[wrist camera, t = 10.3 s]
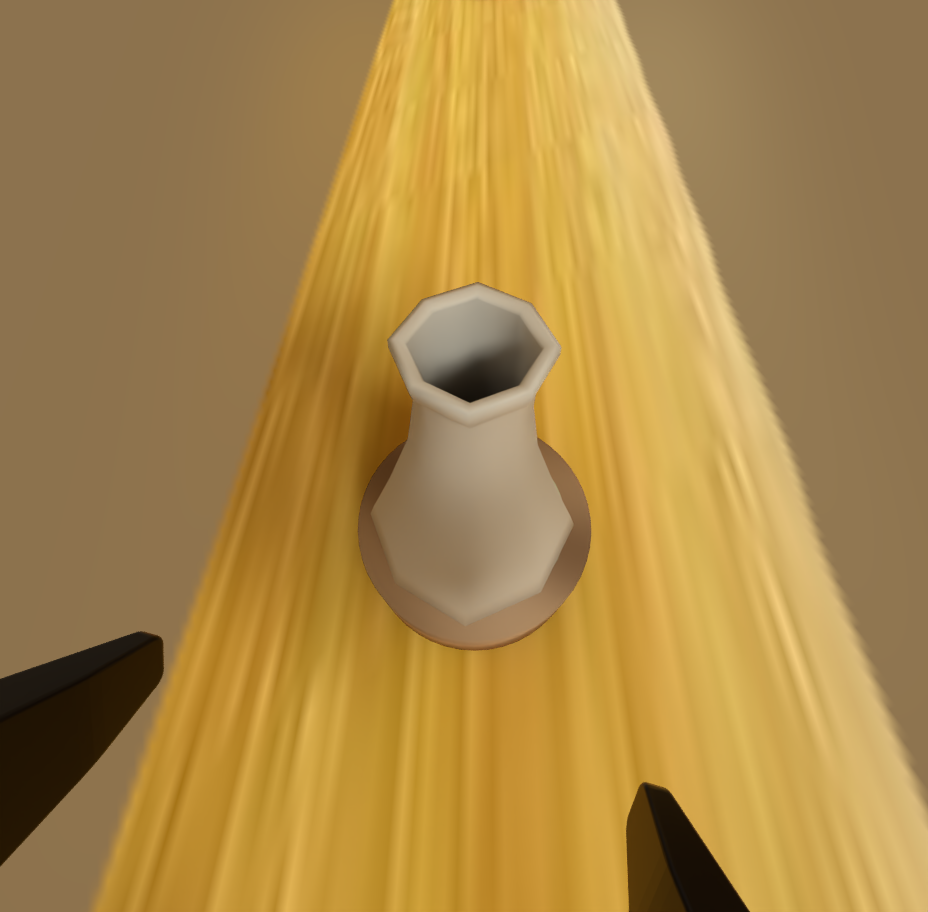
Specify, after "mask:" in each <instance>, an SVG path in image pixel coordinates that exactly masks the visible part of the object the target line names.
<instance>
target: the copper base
mask: <svg viewBox="0 0 928 912" xmlns="http://www.w3.org/2000/svg"><path fill="white" fill-rule="evenodd" d="M406 442H407V440H406V441H405V442H403V443H402V444H401V445H399V446H398V447H397V448H396V449H395V450H394V451H393V452H391V453H390V454H389V455H388V456H387V458H386V459H385V460H384V461H383V462H382V463H381V465H380V466H379V467H378V469H377V470H376V472H375V473H374V475H373V476H372V478H371V480H370V482H369V484H368V486H367V488H366V491H365V494H364V497H363V500H362V503H361V508H360V513H359V522H358V537H359V547H360V551H361V556H362V560H363V563H364V565H365V568H366V570H367V573H368V575H369V577H370V579H371V581H372V582H373V584H374V586H375V588H376V589H377V591H378V592H379V593H380V595H381V596H382V597H383V598H384V600H385V601H386V602H387V604H388V605H389V606H390V607H391V609H392V610H393V611H394V613H395V614H396V615H397V616H398V617H399V618H400V619H401V620H402V621H403V622H404V623H405V624H406V625H407V626H408V627H410V628H411V629H412V630H414V631H415V632H416V633H418V634H419V635H421V636H423V637H425V638H427V639H428V640H430V641H432V642H435V643H438V644H440V645H443V646H446V647H451V648H455V649H461V650H489V649H494V648H498V647H503V646H506V645H509V644H511V643H514V642H517V641H519V640H521V639H523V638H524V637H526V636H528V635H530V634H531V633H533V632H534V631H535V630H537V629H538V628H540V627H541V626H542V625H543V624H544V623H545V622H546V621H547V620H548V619H549V618H550V617H551V616H552V615H553V614H554V613H555V612H556V610H557V609H558V608H559V607H560V606H561V605H562V603H563V602H564V601H565V600H566V598H567V597H568V596H569V595H570V593H571V592H572V591H573V589H574V588H575V586H576V584H577V582H578V580H579V579H580V577H581V575H582V572H583V570H584V567H585V564H586V562H587V558H588V553H589V549H590V541H591V520H590V513H589V508H588V503H587V500H586V497H585V495H584V492H583V489H582V487H581V485H580V483H579V481H578V479H577V477H576V476H575V474H574V473H573V471H572V470H571V468H570V467H569V465H568V464H567V463H566V462H565V461H564V460H563V458H562V457H561V456H560V455H559V454H558V453H557V452H556V451H555V450H553V449H552V448H551V447H550V446H549V445H547V444H546V443H545V442H543V441H542V440H540V439H539V438H537V443H538V447H539V449H540V451H541V454H542V456H543V459H544V461H545V463H546V466H547V468H548V470H549V473H550V475H551V478H552V480H553V482H554V485H555V487H556V489H557V491H558V493H559V495H560V497H561V499H562V501H563V503H564V505H565V507H566V508H567V510H568V512H569V514H570V516H571V519H572V521H573V524H574V526H573V528H572V530H571V532H570V534H569V536H568V538H567V540H566V542H565V544H564V546H563V548H562V550H561V552H560V554H559V556H558V558H557V560H556V563H555V565H554V567H553V569H552V571H551V573H550V575H549V577H548V579H547V581H546V583H545V585H544V587H543V589H542V591H541V593H538V594H536V595H534V596H532V597H530V598H527V599H525V600H523V601H521V602H518V603H516V604H514V605H512V606H509V607H507V608H505V609H503V610H501V611H498V612H496V613H494V614H492V615H489V616H487V617H485V618H483V619H481V620H478V621H476V622H474V623H472V624H469V625H467V626H464V625H462V624H461V623H459V622H457V621H456V620H454V619H452V618H451V617H449V616H447V615H446V614H444V613H443V612H441V611H439V610H438V609H436V608H434V607H433V606H431V605H429V604H428V603H426V602H424V601H423V600H421V599H420V598H418V597H416V596H415V595H413V594H411V593H410V592H408V591H406V590H405V589H403V588H401V587H400V586H398V585H397V584H395V582H394V579H393V576H392V573H391V570H390V568H389V565H388V562H387V559H386V556H385V553H384V551H383V548H382V545H381V542H380V539H379V536H378V534H377V531H376V528H375V525H374V522H373V519H372V516H371V512H372V509H373V507H374V505H375V503H376V501H377V500H378V498H379V496H380V494H381V493H382V491H383V489H384V487H385V486H386V484H387V482H388V480H389V478H390V476H391V474H392V472H393V470H394V468H395V465H396V463H397V461H398V459H399V457H400V455H401V452H402V450H403V448H404V446H405V444H406Z"/></svg>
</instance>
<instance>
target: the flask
mask: <svg viewBox="0 0 928 912" xmlns="http://www.w3.org/2000/svg"><path fill="white" fill-rule="evenodd" d="M387 341H388V348H389V350H390V352H391V354H392V357H393V359H394V361H395V363H396V365H397V368H398V370H399V372H400V374H401V376H402V379H403V381H404V383H405V385H406V387H407V390H408V392H409V394H410V396H411V398H412V399H413V404H412V412H411V419H410V427H409V434H408V439H407V442H406V444H405V446H404V448H403V450H402V452H401V455H400V457H399V459H398V461H397V463H396V465H395V468H394V470H393V472H392V474H391V476H390V478H389V480H388V482H387V484H386V486H385V487H384V489H383V491H382V493H381V494H380V496H379V498H378V500H377V501H376V503H375V505H374V507H373V509H372V512H371V516H372V519H373V522H374V525H375V528H376V531H377V534H378V536H379V539H380V542H381V545H382V548H383V551H384V553H385V556H386V559H387V562H388V565H389V568H390V570H391V573H392V576H393V579H394V582H395V584H397V585H398V586H400V587H401V588H403V589H405V590H406V591H408V592H410V593H411V594H413V595H415V596H416V597H418V598H420V599H421V600H423V601H424V602H426V603H428V604H429V605H431V606H433V607H434V608H436V609H438V610H439V611H441V612H443V613H444V614H446V615H447V616H449V617H451V618H452V619H454V620H456V621H457V622H459V623H461V624H462V625H464V626H467V625H469V624H472V623H474V622H476V621H478V620H481V619H483V618H485V617H487V616H489V615H492V614H494V613H496V612H498V611H501V610H503V609H505V608H507V607H509V606H512V605H514V604H516V603H518V602H521V601H523V600H525V599H527V598H530V597H532V596H534V595H536V594H538V593H541V591H542V589H543V587H544V585H545V583H546V581H547V579H548V577H549V575H550V573H551V571H552V569H553V567H554V565H555V563H556V560H557V558H558V556H559V554H560V552H561V550H562V548H563V546H564V544H565V542H566V540H567V538H568V536H569V534H570V532H571V530H572V528H573V526H574V524H573V521H572V519H571V516H570V514H569V512H568V510H567V508H566V507H565V505H564V503H563V501H562V499H561V497H560V495H559V493H558V491H557V489H556V487H555V485H554V482H553V480H552V478H551V475H550V473H549V470H548V468H547V466H546V463H545V461H544V459H543V456H542V454H541V451H540V449H539V447H538V443H537V433H536V424H535V415H534V401H535V396H536V393H537V391H538V390H539V388H540V386H541V385H542V383H543V382H544V380H545V378H546V377H547V375H548V373H549V372H550V370H551V369H552V367H553V365H554V364H555V362H556V360H557V359H558V357H559V356H560V352H561V346H560V344H559V343H558V341H557V340H556V338H555V337H554V335H553V334H552V333H551V331H550V330H549V328H548V327H547V325H546V324H545V322H544V321H543V319H542V318H541V316H540V315H539V313H538V312H537V311H536V309H535V308H534V306H533V305H532V303H529V302H527V301H524V300H522V299H519V298H517V297H514V296H512V295H509V294H507V293H504V292H502V291H499V290H497V289H494V288H492V287H489V286H487V285H484V284H482V283H479V282H476V283H473V284H470V285H467V286H463V287H460V288H457V289H454V290H450V291H447V292H444V293H441V294H437V295H434V296H431V297H428V298H425V299H422V300H421V301H420V302H419V303H418V305H417V306H416V307H415V308H414V309H413V310H412V312H411V313H410V314H409V315H408V316H407V317H406V319H405V320H404V321H403V322H402V323H401V325H400V326H399V327H398V328H397V329H396V330H395V332H394V333H393V334H392V335H391V336H390V337H389V339H388V340H387Z"/></svg>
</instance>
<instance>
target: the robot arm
mask: <svg viewBox="0 0 928 912" xmlns="http://www.w3.org/2000/svg"><path fill="white" fill-rule="evenodd" d="M163 671H164V656H163V640H162V638H161V637H160V636H157V635H154V634H151V633H147V632H142V631H140V632H136V633H133V634H130V635H127V636H124V637H121V638H118V639H115V640H113V641H109V642H106V643H103V644H101V645H98V646H95V647H92V648H89V649H86V650H83V651H80V652H77V653H74V654H71V655H69V656H66V657H63V658H60V659H57V660H54V661H51V662H48V663H45V664H42V665H39V666H36V667H33V668H31V669H28V670H25V671H22V672H19V673H16V674H13V675H10V676H7V677H5V678H2V679H0V866H1V865H2V864H3V863H4V862H5V861H6V860H7V859H8V858H9V857H10V856H11V854H12V853H13V852H14V851H15V850H16V849H17V848H18V847H19V846H20V845H21V844H22V843H23V841H24V840H25V839H26V838H27V837H28V836H29V835H30V834H31V833H32V832H33V831H34V830H35V828H36V827H37V826H38V825H39V824H40V823H41V822H42V821H43V820H44V819H45V818H46V817H47V816H48V814H49V813H50V812H51V811H52V810H53V809H54V808H55V807H56V806H57V805H58V804H59V803H60V801H61V800H62V799H63V798H64V797H65V796H66V795H67V794H68V793H69V792H70V791H71V789H73V787H74V786H75V785H76V784H77V783H78V782H79V781H80V780H81V779H82V778H83V777H84V775H85V774H86V773H87V772H88V771H89V770H90V769H91V768H92V766H93V765H94V764H95V763H96V762H97V761H98V759H99V758H100V757H101V756H102V755H103V753H104V752H105V751H106V750H107V749H108V747H109V746H110V745H111V743H112V742H113V741H114V740H115V738H116V737H117V736H118V734H119V733H120V732H121V731H122V730H123V728H124V727H125V726H126V724H127V723H128V722H129V721H130V719H131V718H132V717H133V716H134V714H135V713H136V712H137V711H138V709H139V708H140V707H141V705H142V704H143V703H144V702H145V700H146V699H147V698H148V697H149V695H150V694H151V692H152V691H153V690H154V689H155V688H156V686H157V685H158V684H159V682H160V680H161V678H162V675H163ZM626 839H627V866H628V893H629V912H750V911H749V910H748V908H747V907H746V905H745V904H744V902H743V901H742V899H741V898H740V896H739V895H738V893H737V892H736V890H735V889H734V887H733V886H732V884H731V883H730V881H729V880H728V878H727V876H726V875H725V873H724V872H723V870H722V869H721V867H720V866H719V864H718V863H717V861H716V860H715V858H714V857H713V855H712V854H711V852H710V851H709V849H708V848H707V846H706V845H705V843H704V842H703V840H702V839H701V837H700V836H699V834H698V833H697V831H696V830H695V828H694V827H693V825H692V824H691V822H690V821H689V819H688V818H687V816H686V815H685V813H684V812H683V810H682V809H681V807H680V806H679V804H678V803H677V801H676V800H675V798H674V797H673V795H672V794H671V793H670V792H669V791H668V790H667V789H666V788H664V787H660V786H657V785H654V784H650V783H647V782H643V783H642V784H641V785H640V786H639V789H638V791H637V794H636V796H635V799H634V802H633V804H632V807H631V810H630V812H629V815H628V819H627V826H626Z"/></svg>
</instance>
